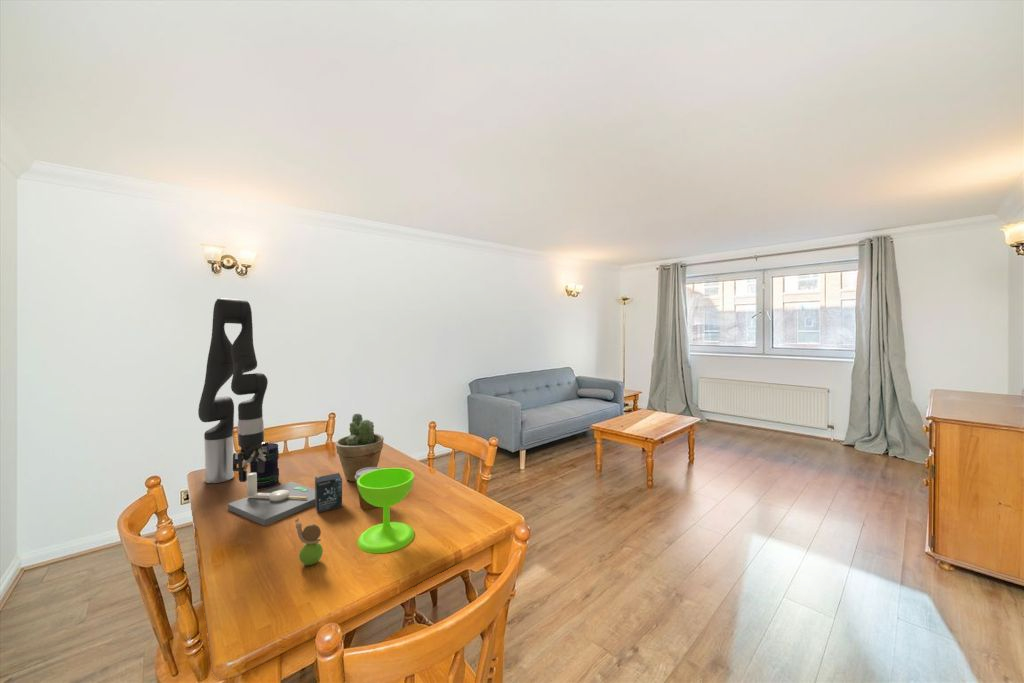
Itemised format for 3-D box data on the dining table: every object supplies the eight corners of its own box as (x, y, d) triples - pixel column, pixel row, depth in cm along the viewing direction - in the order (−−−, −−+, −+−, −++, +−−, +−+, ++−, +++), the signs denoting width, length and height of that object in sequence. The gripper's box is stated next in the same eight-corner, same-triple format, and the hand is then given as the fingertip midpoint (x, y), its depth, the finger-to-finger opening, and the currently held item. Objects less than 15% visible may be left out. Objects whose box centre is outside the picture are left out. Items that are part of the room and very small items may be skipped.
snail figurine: (301, 557, 105) (300, 514, 105) (325, 556, 106) (325, 513, 105) (291, 570, 100) (290, 524, 99) (317, 569, 100) (317, 523, 100)
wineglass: (356, 530, 120) (355, 472, 119) (410, 520, 126) (409, 464, 125) (358, 558, 105) (357, 492, 104) (418, 545, 111) (418, 483, 111)
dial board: (227, 509, 132) (227, 503, 132) (291, 486, 152) (291, 480, 151) (264, 526, 122) (264, 519, 122) (328, 499, 141) (327, 492, 141)
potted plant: (393, 474, 165) (392, 415, 164) (354, 489, 149) (354, 424, 148) (365, 465, 174) (364, 410, 173) (326, 479, 159) (325, 418, 158)
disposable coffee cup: (390, 502, 138) (389, 468, 138) (369, 514, 130) (369, 478, 129) (369, 497, 142) (369, 464, 142) (348, 508, 134) (348, 473, 133)
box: (317, 513, 130) (316, 482, 130) (315, 507, 135) (314, 476, 134) (342, 507, 134) (342, 477, 134) (339, 501, 139) (339, 472, 139)
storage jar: (282, 478, 160) (281, 442, 159) (275, 487, 150) (275, 449, 150) (253, 481, 157) (253, 444, 156) (245, 491, 147) (244, 451, 147)
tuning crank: (311, 495, 139) (311, 472, 138) (301, 502, 133) (301, 479, 132) (254, 492, 140) (253, 470, 140) (241, 500, 134) (241, 477, 134)
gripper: (255, 425, 144) (256, 469, 144) (224, 436, 130) (225, 484, 130) (275, 425, 143) (276, 469, 144) (245, 436, 129) (247, 485, 130)
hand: (252, 476), depth 137 cm, fingers open, 8 cm apart
